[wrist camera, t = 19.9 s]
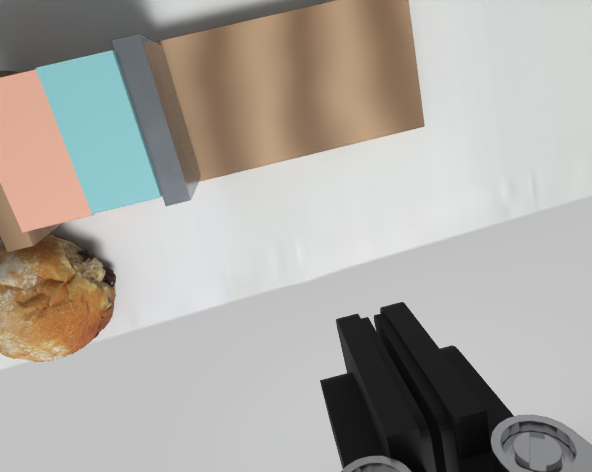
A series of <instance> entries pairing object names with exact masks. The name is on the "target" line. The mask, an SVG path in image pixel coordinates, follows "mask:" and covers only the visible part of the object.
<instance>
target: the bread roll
mask: <svg viewBox="0 0 592 472" xmlns="http://www.w3.org/2000/svg"><path fill="white" fill-rule="evenodd" d="M115 281H116V276H115V274H114V273H113V271H112V270H110V269H108V268H104V265H103V264H102V263H101V261H99V260H98V259H97V258H96V257H95V255H94V253H92V252H89V251H86V250H83V249H82V248H80V247H79V246H78V245H76V244H75V243H73V242H71V241H68V240H65V239H61V238H58V237H55V236H54V235H47V236H45V237H44V238H43V239H42V240H40V241H39V242H38V243H36V244H35V245H34V246H31V247H27V248H22V249H18V250H14V251H10V252H7V250H6V247H5V245H3V246H1V247H0V353H1V354H3V355H5V356H7V357H10V358H14V359H17V358H18V359H24V360H28V361H34V362H44V361H51V360H54V359H58V358H62V357H65V356H67V355H70V354H73V353H75V352H77V351H78V350H79V349H81V348H83V347H84V346H86V345H87V344H88V343H89V342H91V341H92V340H93V339H94V338H95V337H97V336H98V334H99V332H100V331H101V330H102V329H104V328H105V326H106V325H107V324H108V323H109V322H110V319H111V317H112V313H113V309H114V300H115V296H116V295H115V288H114V287H115V286H114V284H115Z"/></svg>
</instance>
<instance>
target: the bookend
mask: <svg viewBox="0 0 592 472" xmlns="http://www.w3.org/2000/svg"><path fill="white" fill-rule="evenodd" d="M111 41H112V44H113V47H114V50H115V53H116V56H117V59H118V62H119V65H120V68H121V71H122V74H123V77H124V81H125V84H126V87H127V90H128V93H129V96H130V99H131V102H132V105H133V108H134V111H135V114H136V117H137V120H138V123H139V126H140V129H141V132H142V135H143V138H144V141H145V144H146V147H147V151H148V154H149V157H150V160H151V163H152V166H153V169H154V172H155V175H156V178H157V181H158V184H159V187H160V190H161V193H162V196H163V199H164V202H165V205H166V206H169V205H173V204H177V203H181V202H185V201H189V200H191V199H192V196H193V194H194V192H195V189H196V187H197V185H198V182H199V180H200V178H201V174H200V171H199V168H198V164H197V161H196V158H195V154H194V151H193V147H192V144H191V141H190V137H189V134H188V131H187V127H186V124H185V120H184V117H183V114H182V110H181V107H180V103H179V100H178V97H177V93H176V90H175V87H174V83H173V80H172V76H171V73H170V70H169V66H168V63H167V60H166V56H165V53H164V49H163V46H161V45H159V44H157V43H155V42H154V41H152V40H150V39H148V38H146V37H144V36H143V35H141V34H137V35H133V36H128V37H124V38H119V39H115V40H111Z"/></svg>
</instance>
